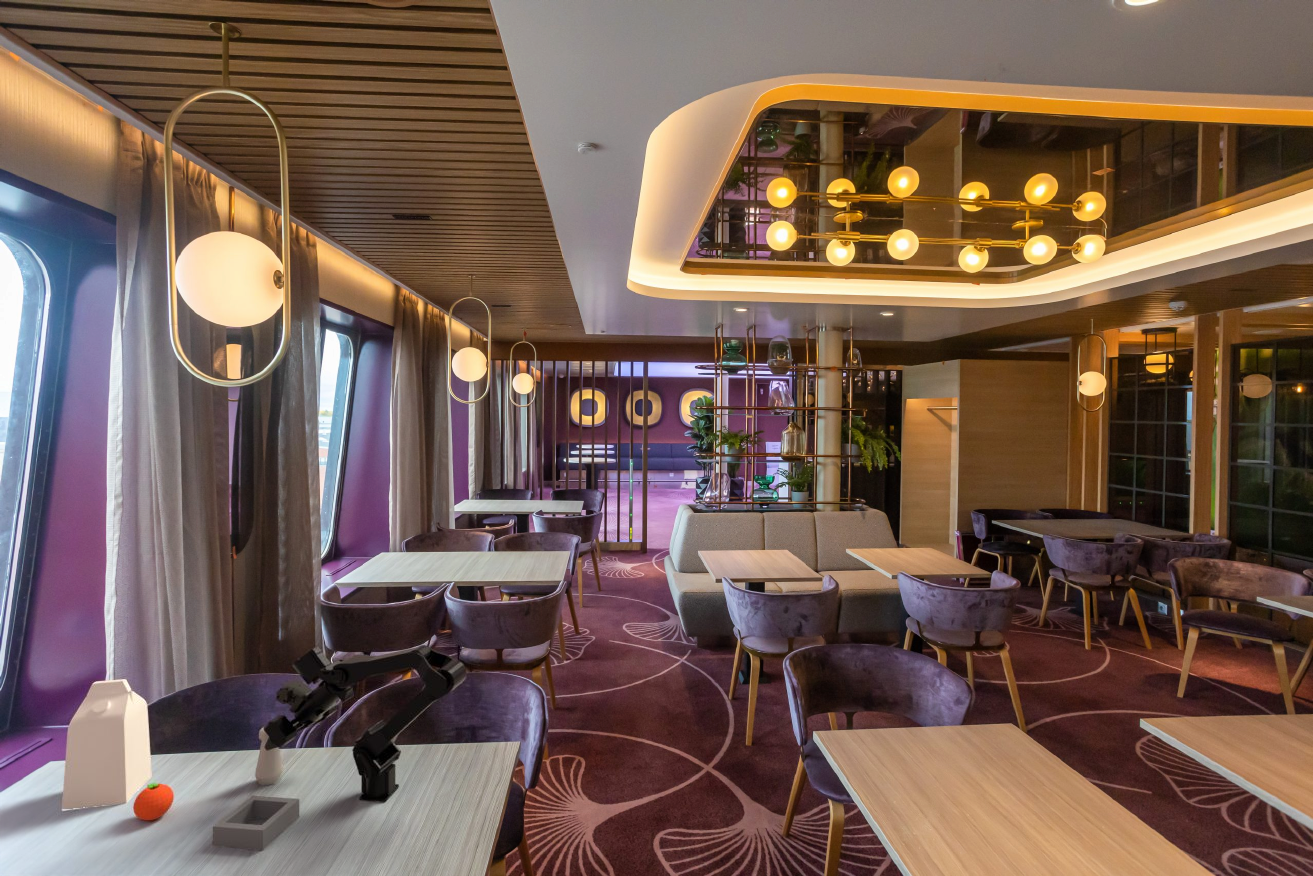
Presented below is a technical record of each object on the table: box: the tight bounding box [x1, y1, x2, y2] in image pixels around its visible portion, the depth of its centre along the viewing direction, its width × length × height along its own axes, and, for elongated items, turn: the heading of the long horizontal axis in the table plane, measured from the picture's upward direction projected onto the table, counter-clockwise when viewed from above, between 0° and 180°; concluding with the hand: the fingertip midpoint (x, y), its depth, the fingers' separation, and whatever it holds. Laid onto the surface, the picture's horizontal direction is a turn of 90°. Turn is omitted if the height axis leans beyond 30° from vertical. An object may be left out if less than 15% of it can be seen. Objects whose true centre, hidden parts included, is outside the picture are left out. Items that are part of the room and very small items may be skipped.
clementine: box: [132, 782, 175, 821], centre depth 138 cm, size 8×7×7 cm
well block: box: [212, 795, 300, 851], centre depth 133 cm, size 11×11×4 cm
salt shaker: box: [254, 726, 284, 787], centre depth 152 cm, size 6×6×13 cm
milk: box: [61, 678, 153, 810], centre depth 146 cm, size 12×12×26 cm
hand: (280, 739), depth 152 cm, fingers open, 9 cm apart
